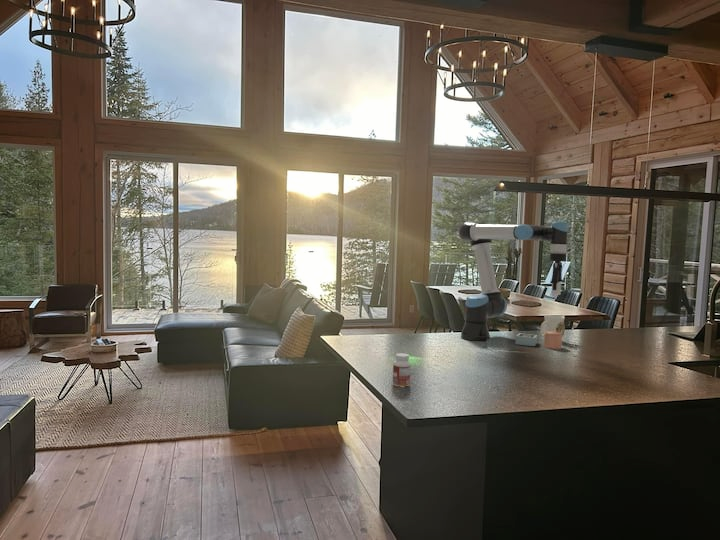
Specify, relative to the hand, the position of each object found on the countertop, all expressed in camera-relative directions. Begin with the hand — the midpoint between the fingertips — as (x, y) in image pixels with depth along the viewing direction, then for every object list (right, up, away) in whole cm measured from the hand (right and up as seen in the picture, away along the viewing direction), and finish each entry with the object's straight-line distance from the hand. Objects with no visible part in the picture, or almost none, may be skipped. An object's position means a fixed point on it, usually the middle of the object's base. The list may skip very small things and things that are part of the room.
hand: (555, 295), depth 261 cm
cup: (-1, -27, +2) cm, 27 cm away
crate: (-12, -26, +8) cm, 30 cm away
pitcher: (+6, -26, +22) cm, 34 cm away
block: (-12, -25, +8) cm, 29 cm away
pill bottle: (-83, -29, -73) cm, 114 cm away
